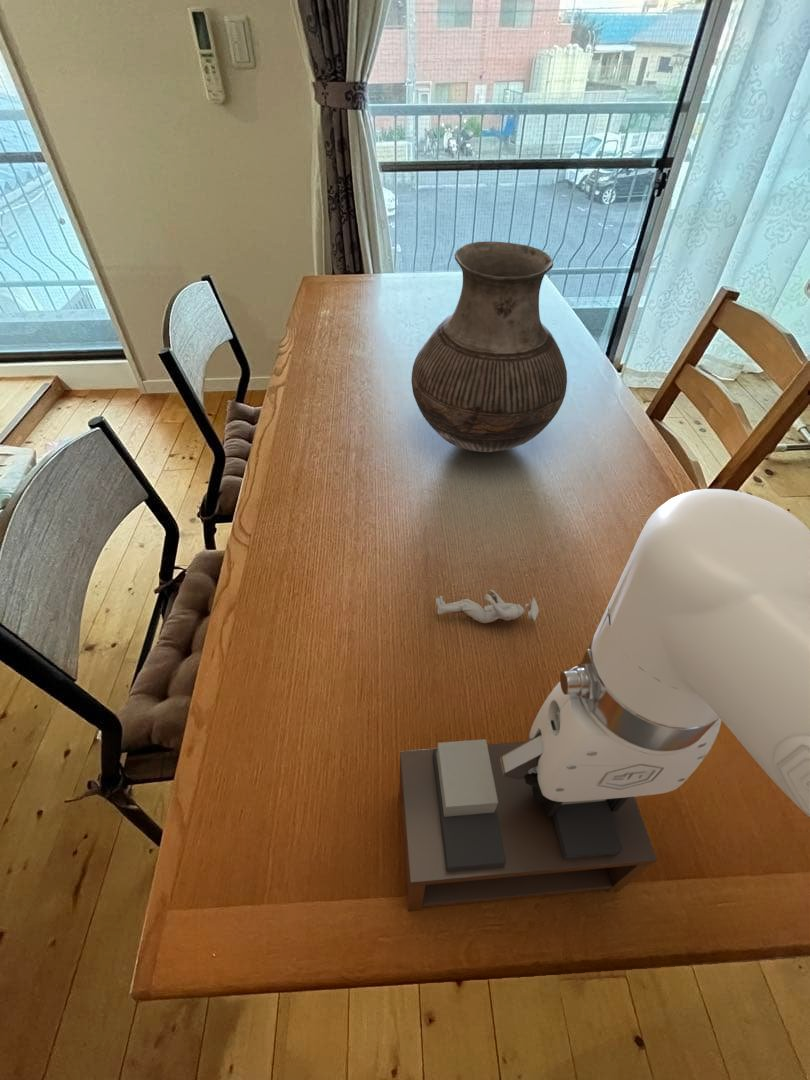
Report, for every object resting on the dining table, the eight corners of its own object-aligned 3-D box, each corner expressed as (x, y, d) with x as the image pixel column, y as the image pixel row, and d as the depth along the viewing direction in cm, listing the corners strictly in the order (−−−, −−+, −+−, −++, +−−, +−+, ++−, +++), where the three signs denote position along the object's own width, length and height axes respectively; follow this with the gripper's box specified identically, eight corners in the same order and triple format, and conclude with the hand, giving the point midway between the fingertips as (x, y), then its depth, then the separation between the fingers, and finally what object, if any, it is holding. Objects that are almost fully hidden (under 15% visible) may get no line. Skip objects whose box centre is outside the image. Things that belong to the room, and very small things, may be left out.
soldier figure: (442, 593, 74) (533, 577, 71) (449, 628, 74) (540, 614, 71) (431, 599, 67) (532, 582, 64) (439, 639, 66) (540, 624, 64)
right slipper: (618, 854, 42) (632, 840, 40) (563, 859, 42) (573, 846, 40) (583, 740, 49) (593, 723, 46) (534, 744, 48) (541, 726, 46)
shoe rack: (619, 891, 50) (657, 860, 42) (407, 911, 48) (410, 883, 41) (585, 777, 56) (612, 734, 49) (399, 793, 55) (399, 750, 48)
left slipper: (504, 866, 42) (510, 853, 39) (446, 872, 42) (449, 859, 39) (482, 750, 48) (487, 732, 46) (432, 754, 48) (434, 736, 45)
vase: (435, 390, 108) (445, 219, 86) (562, 416, 102) (606, 239, 81) (389, 463, 92) (387, 275, 70) (536, 499, 86) (583, 306, 64)
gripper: (520, 756, 29) (481, 855, 42) (826, 732, 30) (694, 836, 43) (493, 635, 34) (465, 757, 47) (754, 619, 35) (656, 742, 48)
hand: (575, 794), depth 45 cm, fingers closed on right slipper, 4 cm apart
